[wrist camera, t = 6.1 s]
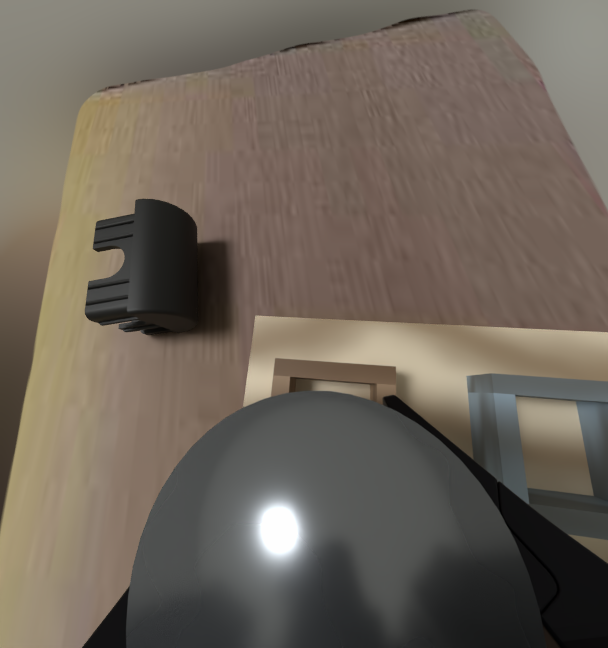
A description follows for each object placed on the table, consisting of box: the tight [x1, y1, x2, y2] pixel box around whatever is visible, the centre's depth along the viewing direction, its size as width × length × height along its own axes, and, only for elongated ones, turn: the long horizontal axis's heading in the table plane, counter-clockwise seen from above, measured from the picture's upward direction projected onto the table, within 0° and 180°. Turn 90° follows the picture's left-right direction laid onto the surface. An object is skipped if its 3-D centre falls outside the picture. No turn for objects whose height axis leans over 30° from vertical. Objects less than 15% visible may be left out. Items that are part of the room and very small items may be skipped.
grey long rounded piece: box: [126, 391, 547, 648], centre depth 8 cm, size 4×4×11 cm
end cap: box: [85, 199, 198, 335], centre depth 22 cm, size 10×7×7 cm
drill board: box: [243, 316, 608, 563], centre depth 17 cm, size 16×28×4 cm, turn 85°
